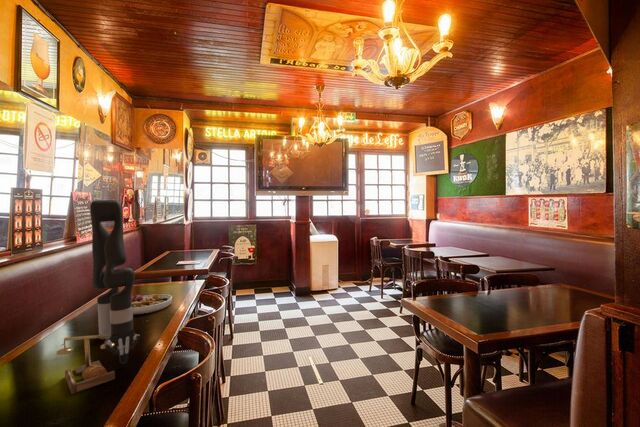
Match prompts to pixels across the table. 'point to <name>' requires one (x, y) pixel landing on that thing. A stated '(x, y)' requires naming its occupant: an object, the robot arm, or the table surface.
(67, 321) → the table surface
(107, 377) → the rail
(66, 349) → the balance
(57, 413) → the table surface
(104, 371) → the pastry
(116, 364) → the table surface
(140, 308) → the bowl
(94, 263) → the robot arm
